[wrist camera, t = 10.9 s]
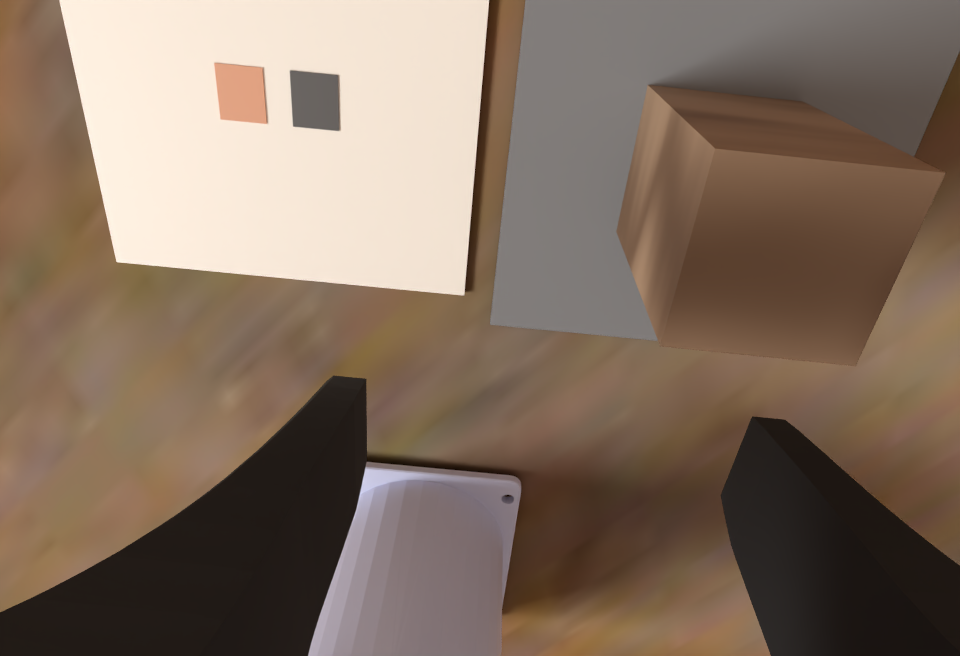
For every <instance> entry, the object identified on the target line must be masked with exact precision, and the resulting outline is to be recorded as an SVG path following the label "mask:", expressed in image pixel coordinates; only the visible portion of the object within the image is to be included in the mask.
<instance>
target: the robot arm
mask: <svg viewBox="0 0 960 656" xmlns="http://www.w3.org/2000/svg"><path fill="white" fill-rule="evenodd" d="M504 495H512V496H511V497H505V496H504ZM520 496H521V481H520V480H519V479H518V478H517V477H515V476H511V475H501V474H491V473H480V472H470V471H459V470H448V469H438V468H427V467H416V466H406V465H395V464H384V463H374V462H367V415H366V379H362V378H352V377H342V376H333V377H331V378H330V379H329V380H327V381H326V383H325V384H324V385H323V386H322V387H321V388H320V389H319V390H318V391H317V392H316V393H315V394H314V395H313V397H312V398H311V399H310V400H309V401H308V402H307V403H306V404H305V405H304V406H303V407H302V408H301V409H300V410H299V411H298V412H297V413H296V414H295V415H294V416H293V417H292V418H291V419H290V420H289V421H288V422H287V423H286V424H285V425H284V426H283V427H282V428H281V429H280V430H279V431H278V432H277V433H276V434H275V435H274V436H273V437H271V438H270V439H269V440H268V441H267V442H266V443H265V444H264V445H263V446H262V447H261V448H260V449H259V450H258V451H256V452H255V453H254V454H253V455H252V456H251V457H249V458H248V459H247V460H246V461H245V462H244V463H242V464H241V465H240V466H239V467H238V468H237V469H235V470H234V471H233V472H232V473H231V474H230V475H228V476H227V477H226V478H225V479H224V480H222V481H221V482H220V483H219V484H217V485H216V486H215V487H213V488H212V489H211V490H210V491H208V492H207V493H206V494H204V495H203V496H202V497H200V498H199V499H198V500H196V501H195V502H194V503H192V504H191V505H189V506H188V507H187V508H185V509H184V510H182V511H181V512H180V513H178V514H177V515H175V516H174V517H172V518H171V519H169V520H168V521H166V522H165V523H163V524H162V525H160V526H159V527H157V528H156V529H154V530H152V531H151V532H149V533H148V534H146V535H144V536H143V537H141V538H140V539H138V540H136V541H135V542H133V543H132V544H130V545H128V546H127V547H125V548H124V549H122V550H121V551H119V552H117V553H115V554H114V555H112V556H110V557H108V558H107V559H105V560H103V561H101V562H99V563H98V564H96V565H94V566H92V567H90V568H89V569H87V570H85V571H83V572H81V573H79V574H77V575H76V576H74V577H72V578H70V579H68V580H66V581H64V582H62V583H60V584H58V585H56V586H55V587H53V588H51V589H49V590H47V591H45V592H43V593H41V594H39V595H37V596H35V597H33V598H31V599H28V600H26V601H24V602H22V603H20V604H18V605H15V606H13V607H11V608H9V609H7V610H5V611H2V612H0V656H501V649H502V606H503V600H504V594H505V587H506V581H507V575H508V569H509V563H510V557H511V551H512V545H513V539H514V532H515V526H516V520H517V514H518V508H519V502H520ZM721 499H722V504H723V509H724V514H725V519H726V524H727V528H728V533H729V537H730V541H731V546H732V549H733V552H734V555H735V558H736V560H737V563H738V566H739V569H740V572H741V575H742V577H743V580H744V583H745V586H746V589H747V591H748V594H749V597H750V599H751V602H752V605H753V608H754V610H755V613H756V616H757V619H758V621H759V624H760V627H761V629H762V632H763V635H764V638H765V640H766V643H767V646H768V649H769V651H770V654H771V656H960V566H959V565H958V564H957V563H955V562H954V561H953V560H951V559H950V558H949V557H947V556H946V555H945V554H943V553H942V552H941V551H939V550H938V549H937V548H935V547H934V546H933V545H932V544H930V543H929V542H928V541H927V540H925V539H924V538H923V537H922V536H920V535H919V534H918V533H917V532H915V531H914V530H913V529H912V528H910V527H909V526H908V525H907V524H905V523H904V522H903V521H902V520H900V519H899V518H898V517H897V516H896V515H894V514H893V513H892V512H891V511H890V510H888V509H887V508H886V507H885V506H884V505H883V504H881V503H880V502H879V501H878V500H877V499H876V498H874V497H873V496H872V495H871V494H870V493H869V492H867V491H866V490H865V489H864V488H863V487H862V486H861V485H859V484H858V483H857V482H856V481H855V480H854V479H853V478H851V477H850V476H849V475H848V474H847V473H846V472H845V471H844V470H842V469H841V468H840V467H839V466H838V465H837V464H836V463H835V462H833V461H832V460H831V459H830V458H829V457H828V456H827V455H826V454H825V453H823V452H822V451H821V450H820V449H819V448H818V447H817V446H816V445H814V444H813V443H812V442H811V441H810V440H809V439H808V438H806V437H805V436H804V435H803V434H802V433H801V432H799V431H798V430H797V429H796V428H795V427H793V426H792V425H791V424H790V423H788V422H787V421H786V420H782V419H772V418H761V417H752V418H751V421H750V423H749V426H748V428H747V431H746V433H745V436H744V438H743V441H742V443H741V446H740V448H739V451H738V453H737V456H736V458H735V461H734V464H733V466H732V469H731V471H730V474H729V476H728V479H727V481H726V484H725V486H724V489H723V491H722V494H721Z"/></svg>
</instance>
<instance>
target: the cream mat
mask: <svg viewBox="0 0 960 656" xmlns="http://www.w3.org/2000/svg"><path fill="white" fill-rule="evenodd" d="M60 5H61V10H62V14H63V19H64V23H65V28H66V32H67V37H68V42H69V46H70V51H71V55H72V60H73V64H74V69H75V74H76V78H77V83H78V87H79V92H80V96H81V101H82V106H83V110H84V115H85V119H86V124H87V128H88V133H89V138H90V142H91V147H92V151H93V156H94V161H95V165H96V170H97V174H98V179H99V183H100V188H101V193H102V197H103V202H104V206H105V211H106V215H107V220H108V225H109V229H110V234H111V238H112V243H113V247H114V252H115V257H116V261H117V262H122V263H132V264H143V265H153V266H164V267H174V268H184V269H195V270H205V271H215V272H226V273H236V274H247V275H257V276H267V277H278V278H288V279H298V280H309V281H319V282H330V283H340V284H350V285H361V286H371V287H381V288H392V289H402V290H412V291H423V292H433V293H444V294H454V295H464V293H465V281H466V269H467V258H468V246H469V234H470V222H471V210H472V198H473V186H474V175H475V163H476V151H477V139H478V127H479V115H480V103H481V92H482V80H483V68H484V56H485V44H486V32H487V20H488V9H489V0H60Z"/></svg>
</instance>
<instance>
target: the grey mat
mask: <svg viewBox="0 0 960 656" xmlns="http://www.w3.org/2000/svg"><path fill="white" fill-rule="evenodd" d="M959 52H960V0H526V1H525V10H524V19H523V28H522V37H521V47H520V56H519V65H518V74H517V83H516V92H515V101H514V110H513V119H512V128H511V137H510V147H509V156H508V165H507V174H506V183H505V192H504V201H503V210H502V219H501V228H500V238H499V247H498V256H497V265H496V274H495V283H494V292H493V301H492V310H491V319H490V325H499V326H510V327H520V328H530V329H541V330H551V331H562V332H572V333H582V334H593V335H603V336H614V337H624V338H634V339H645V340H655V341H658V339H657V337H656V334H655V331H654V329H653V326H652V324H651V321H650V318H649V316H648V313H647V311H646V308H645V305H644V303H643V300H642V298H641V295H640V292H639V290H638V287H637V285H636V282H635V279H634V277H633V274H632V272H631V269H630V266H629V264H628V261H627V258H626V256H625V253H624V251H623V248H622V245H621V243H620V240H619V238H618V235H617V232H616V230H617V226H618V221H619V216H620V212H621V207H622V202H623V198H624V193H625V188H626V184H627V179H628V174H629V170H630V165H631V160H632V156H633V151H634V146H635V142H636V137H637V132H638V128H639V123H640V118H641V114H642V109H643V104H644V100H645V95H646V91H647V86H648V85H653V86H662V87H672V88H681V89H691V90H700V91H709V92H719V93H728V94H737V95H747V96H756V97H765V98H775V99H784V100H794V101H803V102H805V103H807V104H809V105H811V106H813V107H815V108H817V109H819V110H821V111H823V112H825V113H827V114H829V115H831V116H833V117H835V118H837V119H839V120H841V121H843V122H845V123H847V124H849V125H851V126H853V127H855V128H857V129H859V130H861V131H863V132H865V133H867V134H869V135H871V136H873V137H875V138H877V139H879V140H881V141H883V142H885V143H887V144H889V145H891V146H893V147H895V148H897V149H899V150H901V151H903V152H905V153H907V154H909V155H911V156H913V157H914V156H915V154H916V151H917V149H918V147H919V144H920V142H921V140H922V137H923V135H924V133H925V130H926V128H927V126H928V123H929V121H930V119H931V116H932V114H933V112H934V110H935V107H936V105H937V103H938V100H939V98H940V96H941V93H942V91H943V89H944V86H945V84H946V82H947V79H948V77H949V75H950V72H951V70H952V68H953V65H954V63H955V61H956V59H957V56H958V54H959Z"/></svg>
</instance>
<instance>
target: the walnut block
mask: <svg viewBox="0 0 960 656" xmlns="http://www.w3.org/2000/svg"><path fill="white" fill-rule="evenodd" d="M945 174H946V173H945V172H943V171H941V170H939V169H937V168H935V167H933V166H931V165H929V164H927V163H925V162H923V161H921V160H919V159H917V158H915V157H913V156H911V155H909V154H907V153H905V152H903V151H901V150H899V149H897V148H895V147H893V146H891V145H889V144H887V143H885V142H883V141H881V140H879V139H877V138H875V137H873V136H871V135H869V134H867V133H865V132H863V131H861V130H859V129H857V128H855V127H853V126H851V125H849V124H847V123H845V122H843V121H841V120H839V119H837V118H835V117H833V116H831V115H829V114H827V113H825V112H823V111H821V110H819V109H817V108H815V107H813V106H811V105H809V104H807V103H805V102H803V101H794V100H784V99H775V98H765V97H756V96H747V95H737V94H728V93H719V92H709V91H700V90H691V89H681V88H672V87H662V86H653V85H648V86H647V91H646V95H645V100H644V104H643V109H642V114H641V118H640V123H639V128H638V132H637V137H636V142H635V146H634V151H633V156H632V160H631V165H630V170H629V174H628V179H627V184H626V188H625V193H624V198H623V202H622V207H621V212H620V216H619V221H618V226H617V230H616V232H617V235H618V238H619V240H620V243H621V245H622V248H623V251H624V253H625V256H626V258H627V261H628V264H629V266H630V269H631V272H632V274H633V277H634V279H635V282H636V285H637V287H638V290H639V292H640V295H641V298H642V300H643V303H644V305H645V308H646V311H647V313H648V316H649V318H650V321H651V324H652V326H653V329H654V331H655V334H656V337H657V339H658V342H659V344H660V346H663V347H673V348H682V349H692V350H702V351H712V352H722V353H732V354H741V355H751V356H761V357H771V358H781V359H791V360H800V361H810V362H820V363H830V364H840V365H850V366H856V364H857V362H858V360H859V357H860V355H861V353H862V351H863V349H864V347H865V345H866V342H867V340H868V338H869V336H870V334H871V332H872V330H873V328H874V325H875V323H876V321H877V319H878V317H879V315H880V313H881V311H882V308H883V306H884V304H885V302H886V300H887V298H888V296H889V294H890V291H891V289H892V287H893V285H894V283H895V281H896V279H897V276H898V274H899V272H900V270H901V268H902V266H903V264H904V262H905V259H906V257H907V255H908V253H909V251H910V249H911V247H912V245H913V242H914V240H915V238H916V236H917V234H918V232H919V230H920V227H921V225H922V223H923V221H924V219H925V217H926V215H927V213H928V210H929V208H930V206H931V204H932V202H933V200H934V198H935V196H936V193H937V191H938V189H939V187H940V185H941V183H942V181H943V179H944V176H945Z"/></svg>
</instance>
